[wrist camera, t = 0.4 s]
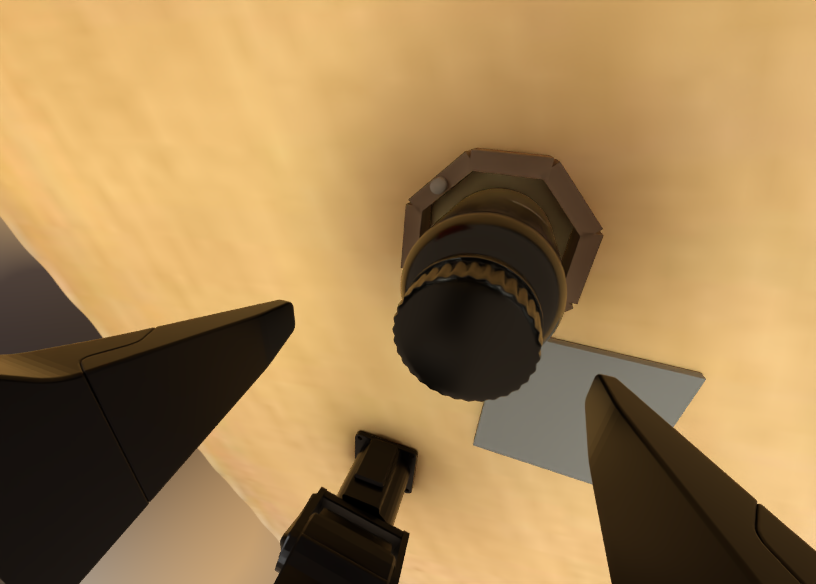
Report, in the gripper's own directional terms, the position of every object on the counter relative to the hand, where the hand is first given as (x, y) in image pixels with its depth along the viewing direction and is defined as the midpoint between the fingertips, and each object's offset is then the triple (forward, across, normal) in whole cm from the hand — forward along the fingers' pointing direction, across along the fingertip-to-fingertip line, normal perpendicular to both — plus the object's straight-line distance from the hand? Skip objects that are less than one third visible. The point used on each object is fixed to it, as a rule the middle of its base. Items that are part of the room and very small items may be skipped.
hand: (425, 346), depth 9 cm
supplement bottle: (+13, -1, 0) cm, 13 cm away
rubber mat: (+13, -9, +12) cm, 20 cm away
